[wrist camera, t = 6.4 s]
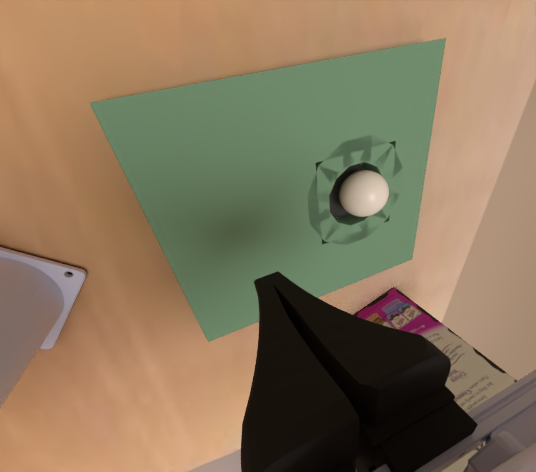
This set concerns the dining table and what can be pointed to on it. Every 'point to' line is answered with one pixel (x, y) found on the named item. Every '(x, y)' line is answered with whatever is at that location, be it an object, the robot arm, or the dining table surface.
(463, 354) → the candy bar box
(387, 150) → the putting mat
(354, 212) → the ball
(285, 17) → the dining table surface
